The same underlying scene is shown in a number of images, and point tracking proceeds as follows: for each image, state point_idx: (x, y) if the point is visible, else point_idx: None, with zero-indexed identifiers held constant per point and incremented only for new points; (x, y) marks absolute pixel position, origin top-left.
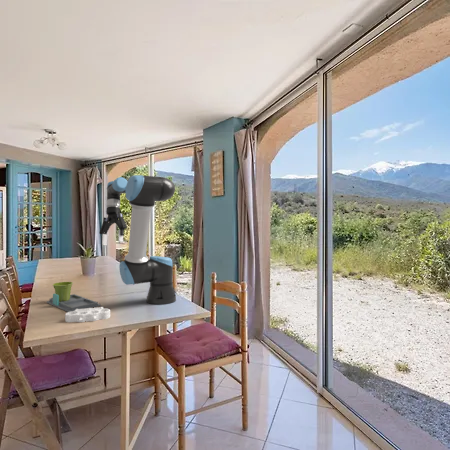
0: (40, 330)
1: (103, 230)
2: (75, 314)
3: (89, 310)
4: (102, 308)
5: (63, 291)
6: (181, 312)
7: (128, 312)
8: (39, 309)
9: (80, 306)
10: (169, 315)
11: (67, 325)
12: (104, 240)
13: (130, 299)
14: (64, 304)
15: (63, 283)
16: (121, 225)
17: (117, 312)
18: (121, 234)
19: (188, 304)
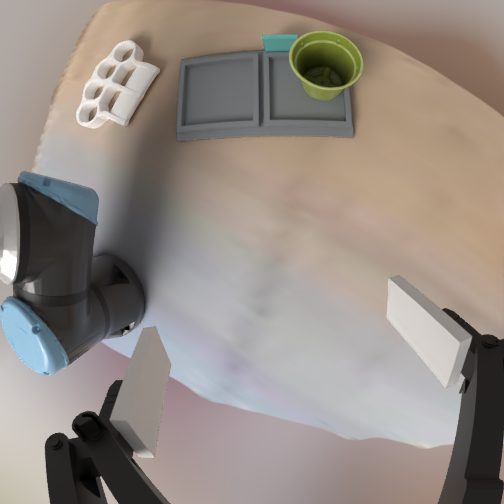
0: (125, 12)
1: (491, 374)
2: (109, 56)
3: (109, 85)
4: (99, 113)
5: (298, 61)
6: None
7: (84, 172)
8: (280, 21)
9: (179, 82)
10: None
11: (110, 47)
12: (412, 317)
13: (179, 247)
14: (231, 56)
15: (356, 74)
16: (67, 463)
17: (100, 152)
18: (114, 385)
19: None
